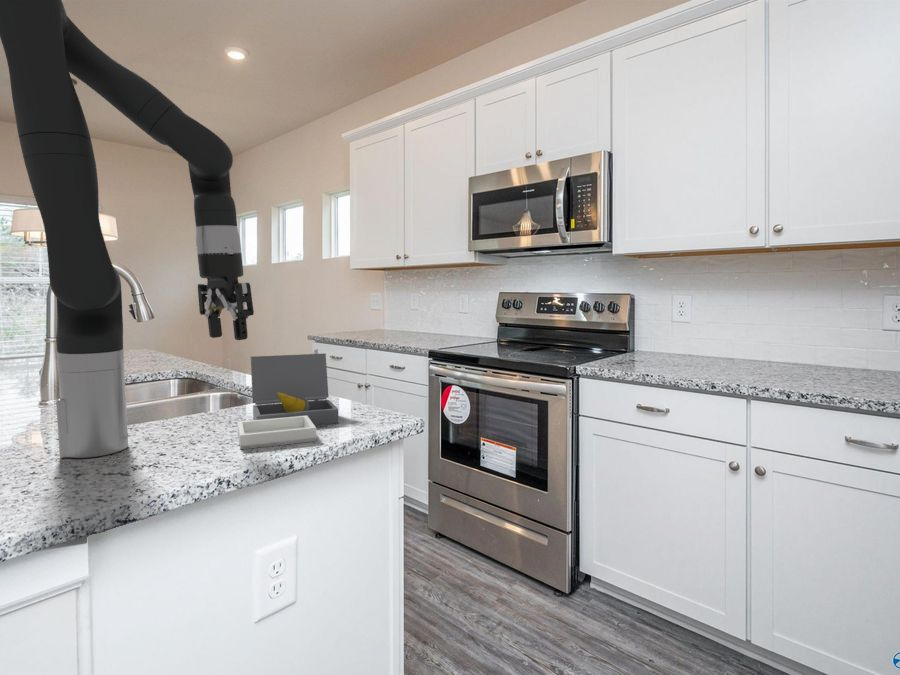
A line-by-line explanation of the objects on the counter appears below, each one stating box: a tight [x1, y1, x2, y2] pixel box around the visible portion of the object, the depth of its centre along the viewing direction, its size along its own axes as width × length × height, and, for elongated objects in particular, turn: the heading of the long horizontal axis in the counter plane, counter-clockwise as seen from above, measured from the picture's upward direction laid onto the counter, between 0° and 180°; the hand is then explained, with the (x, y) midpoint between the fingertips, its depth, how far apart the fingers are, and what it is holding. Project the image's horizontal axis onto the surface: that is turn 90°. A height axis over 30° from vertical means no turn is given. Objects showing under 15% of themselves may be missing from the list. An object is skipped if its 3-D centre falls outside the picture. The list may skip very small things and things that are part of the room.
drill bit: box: [277, 392, 311, 413], centre depth 109 cm, size 5×5×10 cm
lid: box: [250, 352, 329, 405], centre depth 115 cm, size 16×10×1 cm
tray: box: [237, 415, 317, 450], centre depth 98 cm, size 13×10×2 cm
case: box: [252, 399, 339, 427], centre depth 110 cm, size 16×10×3 cm, turn 114°
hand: (228, 338), depth 98 cm, fingers open, 8 cm apart
